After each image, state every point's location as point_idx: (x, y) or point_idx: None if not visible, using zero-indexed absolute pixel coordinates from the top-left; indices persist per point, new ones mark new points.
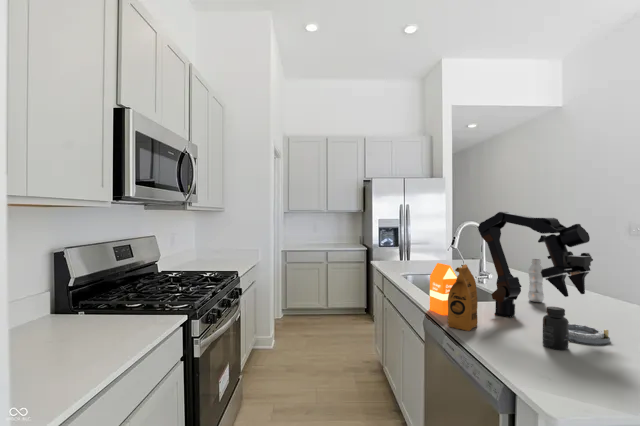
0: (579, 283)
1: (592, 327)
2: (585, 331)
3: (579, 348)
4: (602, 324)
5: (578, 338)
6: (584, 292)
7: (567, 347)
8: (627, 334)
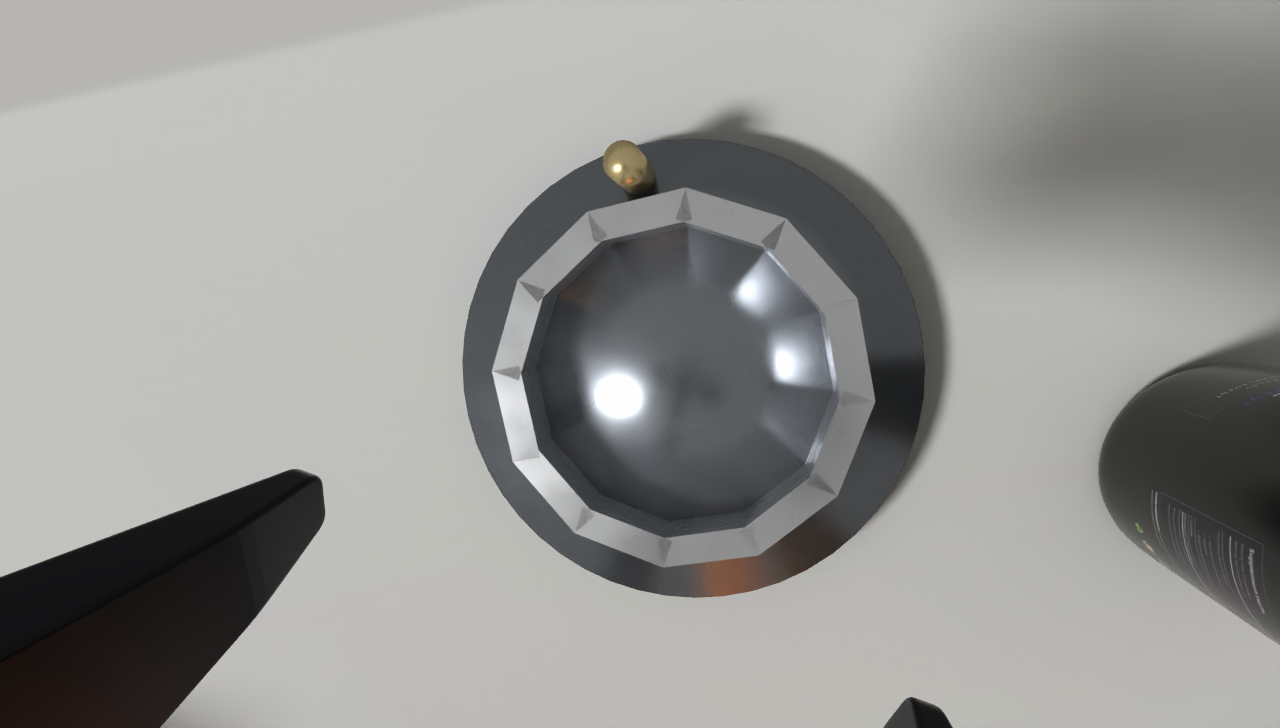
0: (54, 709)
1: (515, 307)
2: (570, 353)
3: (1083, 296)
4: (154, 310)
5: (868, 350)
6: (287, 481)
7: (1257, 365)
8: (293, 98)
